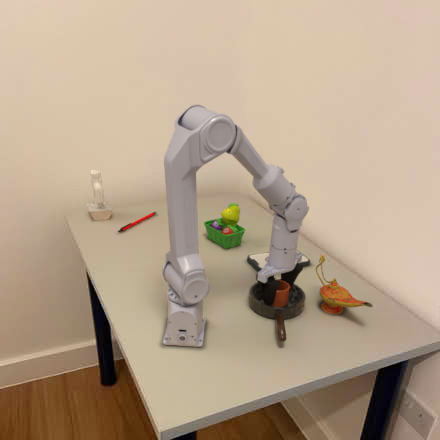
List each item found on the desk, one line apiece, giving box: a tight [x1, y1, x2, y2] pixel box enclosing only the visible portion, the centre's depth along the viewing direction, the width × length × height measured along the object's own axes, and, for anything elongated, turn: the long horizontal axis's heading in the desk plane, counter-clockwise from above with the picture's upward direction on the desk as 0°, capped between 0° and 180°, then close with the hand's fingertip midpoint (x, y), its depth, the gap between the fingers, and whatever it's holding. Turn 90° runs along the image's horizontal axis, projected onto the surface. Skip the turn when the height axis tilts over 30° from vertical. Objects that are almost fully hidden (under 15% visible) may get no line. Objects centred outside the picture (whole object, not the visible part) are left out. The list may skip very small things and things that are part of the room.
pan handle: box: [275, 310, 287, 343], centre depth 93 cm, size 11×2×2 cm, turn 178°
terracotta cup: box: [269, 278, 290, 307], centre depth 102 cm, size 5×5×5 cm
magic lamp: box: [315, 254, 374, 315], centre depth 99 cm, size 7×18×11 cm, turn 30°
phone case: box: [246, 249, 311, 273], centre depth 121 cm, size 9×2×16 cm
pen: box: [117, 211, 157, 233], centre depth 140 cm, size 1×19×1 cm, turn 150°
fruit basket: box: [203, 202, 246, 250], centre depth 129 cm, size 11×9×11 cm
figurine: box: [86, 168, 114, 221], centre depth 139 cm, size 7×9×15 cm
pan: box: [248, 278, 306, 320], centre depth 103 cm, size 13×13×3 cm
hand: (276, 297), depth 103 cm, fingers open, 6 cm apart
